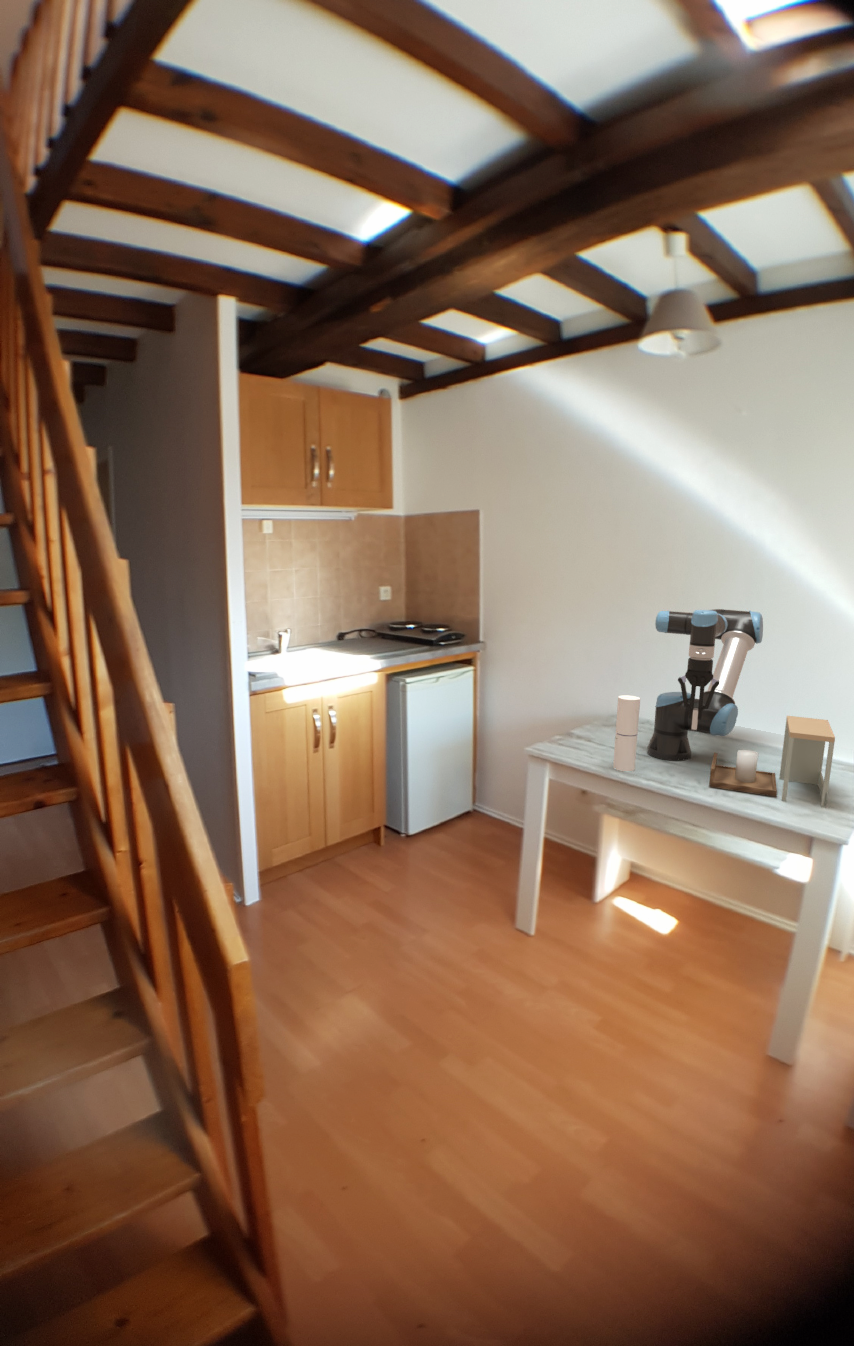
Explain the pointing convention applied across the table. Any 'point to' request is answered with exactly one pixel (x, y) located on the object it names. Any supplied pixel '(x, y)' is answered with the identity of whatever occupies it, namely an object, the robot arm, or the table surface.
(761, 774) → the tray
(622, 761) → the cylindrical container
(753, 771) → the beige rounded cylinder
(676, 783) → the table surface
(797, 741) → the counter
